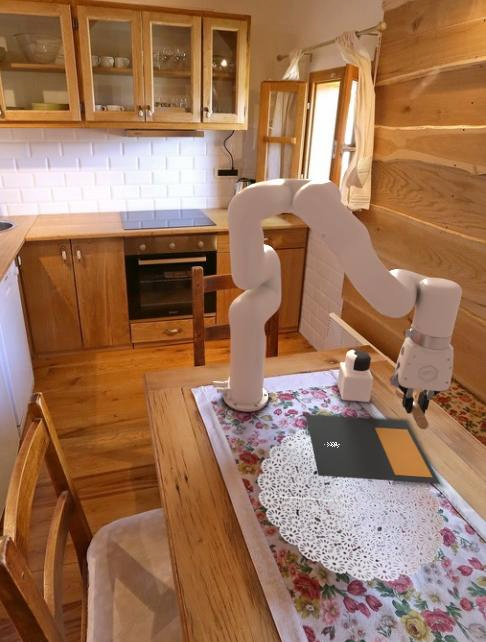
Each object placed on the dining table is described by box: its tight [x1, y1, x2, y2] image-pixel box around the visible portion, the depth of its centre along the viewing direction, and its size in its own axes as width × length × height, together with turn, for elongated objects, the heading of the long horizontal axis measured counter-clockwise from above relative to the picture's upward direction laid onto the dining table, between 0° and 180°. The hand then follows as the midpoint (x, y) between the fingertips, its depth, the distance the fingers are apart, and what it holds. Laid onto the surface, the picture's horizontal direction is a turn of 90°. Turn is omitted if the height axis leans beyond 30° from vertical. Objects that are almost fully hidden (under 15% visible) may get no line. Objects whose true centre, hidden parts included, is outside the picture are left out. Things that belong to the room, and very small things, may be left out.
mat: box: [305, 414, 441, 485], centre depth 98 cm, size 26×20×1 cm
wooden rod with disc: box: [394, 387, 429, 430], centre depth 91 cm, size 15×5×2 cm, turn 172°
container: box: [336, 349, 374, 403], centre depth 115 cm, size 8×8×13 cm
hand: (413, 409), depth 90 cm, fingers closed on wooden rod with disc, 2 cm apart
